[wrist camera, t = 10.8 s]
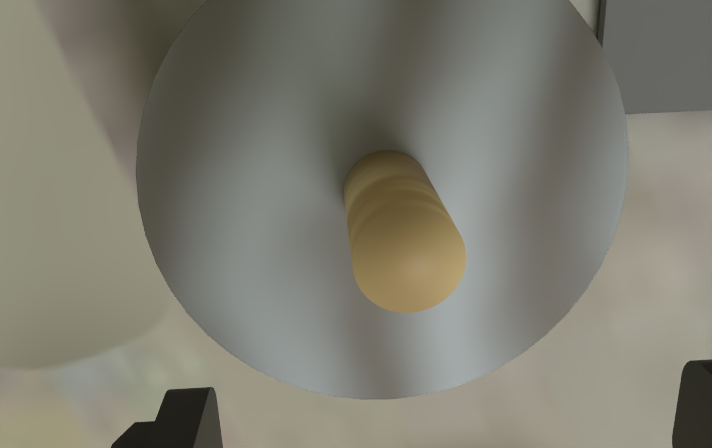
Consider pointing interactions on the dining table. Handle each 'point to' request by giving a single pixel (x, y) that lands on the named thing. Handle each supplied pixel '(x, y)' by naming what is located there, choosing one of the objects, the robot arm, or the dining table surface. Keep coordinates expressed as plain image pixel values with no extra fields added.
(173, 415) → the robot arm
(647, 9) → the mat
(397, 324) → the lid
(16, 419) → the dining table surface
